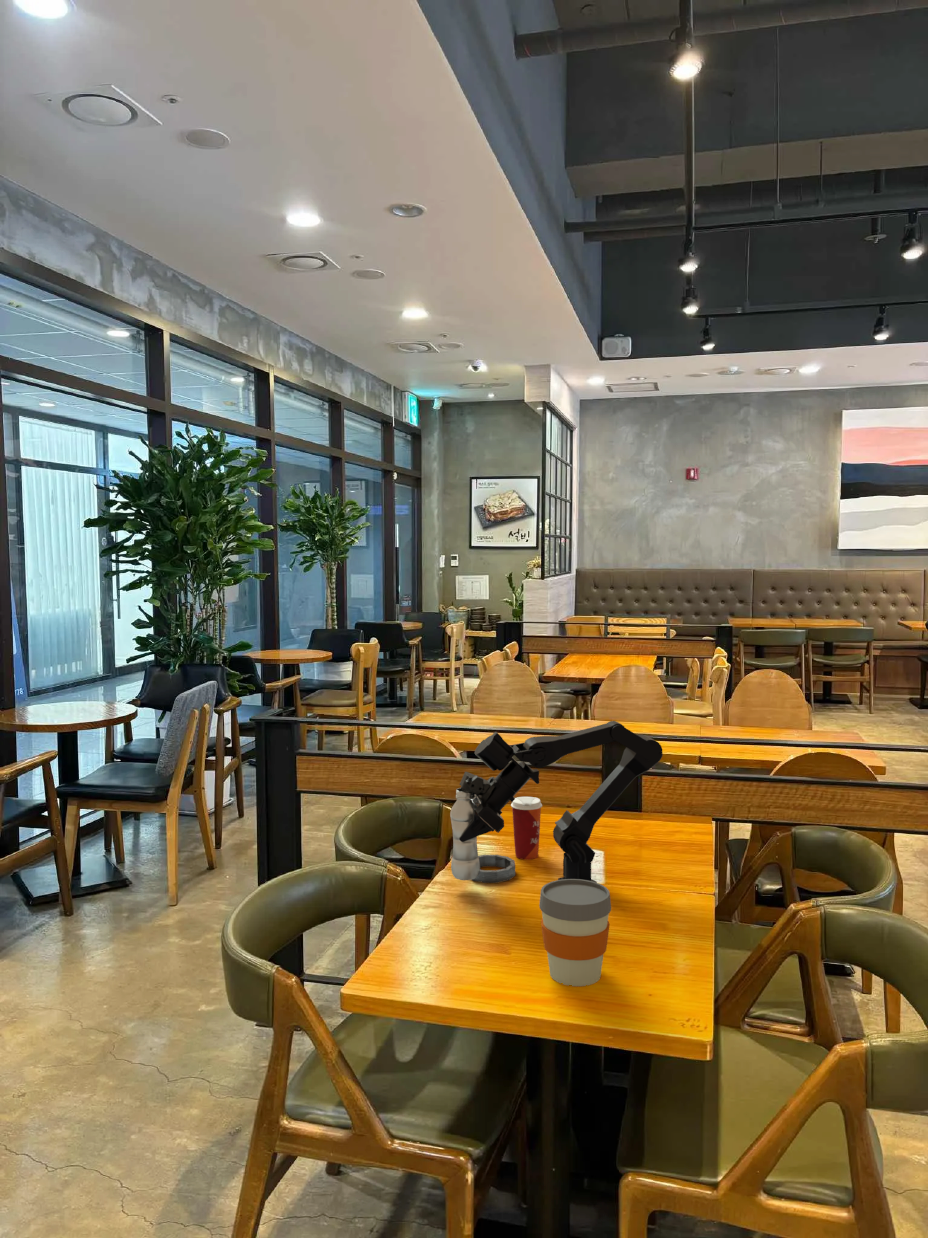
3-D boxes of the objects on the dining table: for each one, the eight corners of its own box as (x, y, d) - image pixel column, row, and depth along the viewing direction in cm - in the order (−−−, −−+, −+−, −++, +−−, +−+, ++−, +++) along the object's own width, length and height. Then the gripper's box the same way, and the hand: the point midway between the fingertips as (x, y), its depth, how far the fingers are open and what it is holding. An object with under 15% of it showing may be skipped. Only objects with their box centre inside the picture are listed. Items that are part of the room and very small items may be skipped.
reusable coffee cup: (534, 959, 162) (534, 879, 161) (602, 956, 163) (602, 877, 161) (545, 993, 149) (545, 907, 148) (618, 990, 150) (618, 904, 149)
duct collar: (524, 876, 203) (524, 866, 203) (481, 886, 198) (481, 875, 197) (498, 861, 213) (498, 851, 213) (456, 870, 208) (456, 860, 207)
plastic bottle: (455, 885, 191) (454, 795, 189) (447, 874, 197) (446, 787, 196) (484, 882, 193) (482, 792, 191) (475, 871, 199) (474, 784, 198)
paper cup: (543, 861, 213) (543, 804, 212) (511, 861, 213) (511, 804, 212) (541, 850, 221) (541, 795, 220) (510, 850, 221) (510, 795, 220)
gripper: (475, 750, 203) (428, 800, 202) (488, 770, 184) (436, 825, 184) (509, 782, 205) (463, 832, 204) (525, 805, 186) (474, 859, 185)
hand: (458, 836), depth 194 cm, fingers closed on plastic bottle, 6 cm apart
